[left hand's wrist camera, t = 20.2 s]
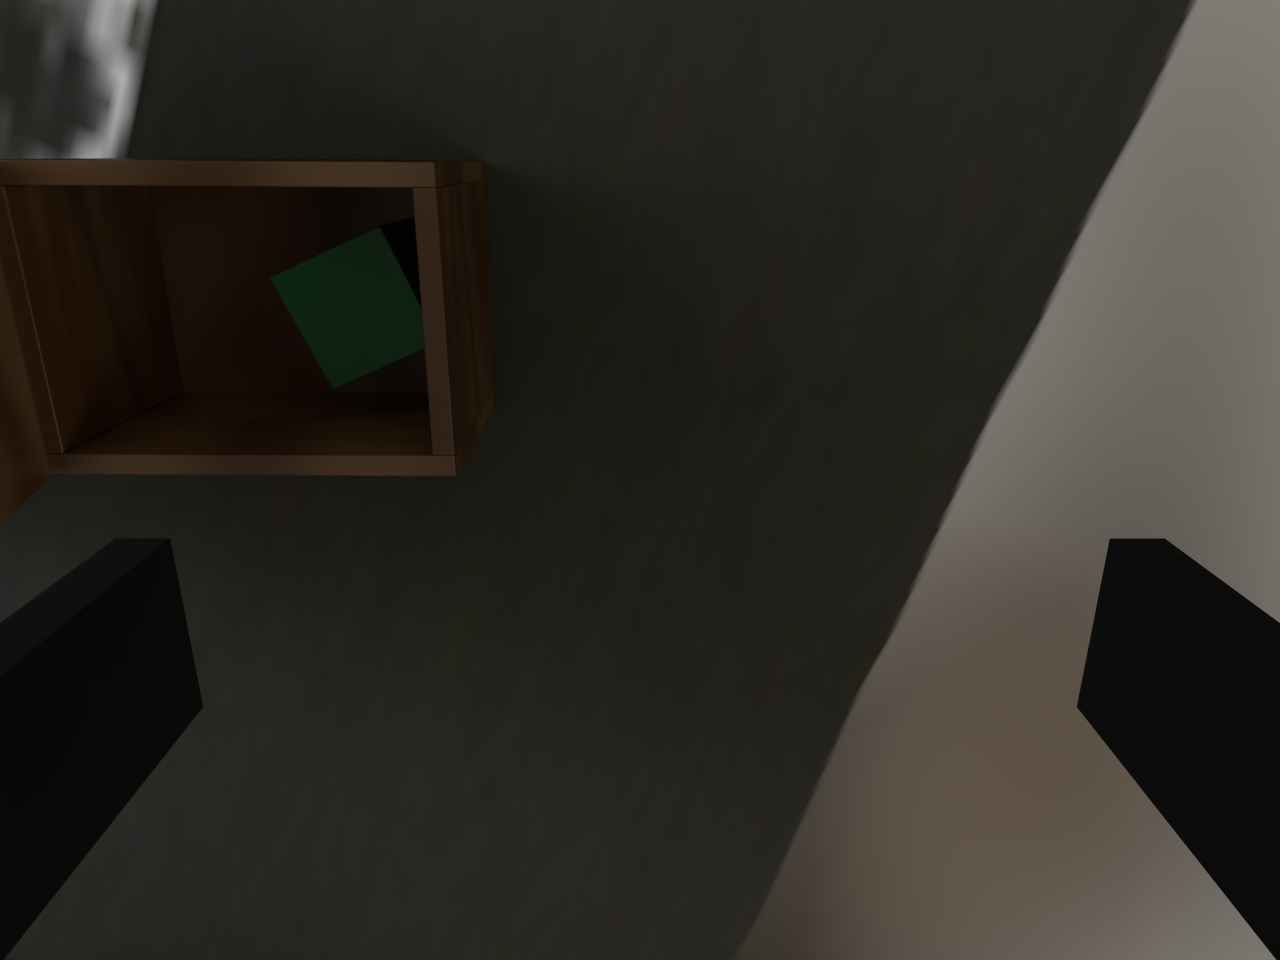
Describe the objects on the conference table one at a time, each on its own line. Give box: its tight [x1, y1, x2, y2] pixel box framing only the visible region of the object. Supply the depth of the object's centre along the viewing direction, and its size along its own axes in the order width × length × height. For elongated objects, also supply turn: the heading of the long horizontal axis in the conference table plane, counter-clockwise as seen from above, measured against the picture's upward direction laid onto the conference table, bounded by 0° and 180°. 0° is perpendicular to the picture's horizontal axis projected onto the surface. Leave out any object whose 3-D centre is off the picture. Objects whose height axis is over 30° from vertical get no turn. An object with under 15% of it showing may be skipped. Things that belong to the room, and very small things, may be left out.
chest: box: [0, 158, 496, 476], centre depth 40 cm, size 17×12×11 cm
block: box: [270, 218, 424, 390], centre depth 42 cm, size 6×6×6 cm
